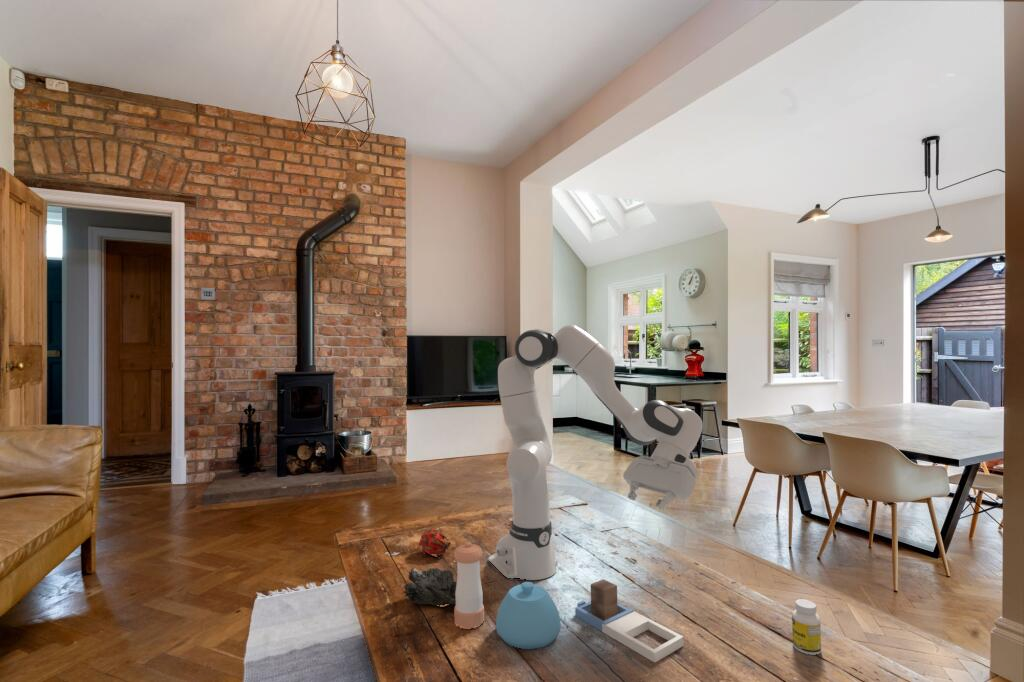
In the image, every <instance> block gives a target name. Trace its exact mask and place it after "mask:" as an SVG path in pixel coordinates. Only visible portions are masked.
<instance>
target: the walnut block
mask: <svg viewBox="0 0 1024 682" xmlns="http://www.w3.org/2000/svg"><path fill="white" fill-rule="evenodd" d="M590 601H591V612H590V613H591V614H592V615H594V616H596V617H598V618H599V619H601V620H603V621H605V620H607V619H609V618H611V617H613V616H615V615H618V612H617V603H618V585H617V584H615V583H613V582H610V581H609V580H606V579H601V580H598V581H595V582H592V583H591V584H590Z"/></svg>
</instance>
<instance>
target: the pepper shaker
mask: <svg viewBox="0 0 1024 682" xmlns="http://www.w3.org/2000/svg"><path fill="white" fill-rule="evenodd" d="M483 554H484V553H483V549H482V548H481V546H479V544H476V543H472V542H470V541H466V542H465V543H463V544H460V545H458V546H457V547H456V548H455V550H454V553H453V557H454V560H455V561H456V562H457V566H456V567H457V576H456V577H457V579H456V582H457V585H456V592H455V596H456V604H455V606H454V609H453V611H454V614H453V615H454V616H453V617H454V623H455V622H456V624H458V625H459V626H462V627H474V626H478V625H480V624H481V623H483V621H484V622H485V605H484V604H483V600H484V599H483V597H484V596H483V588H482V586H483V585H482V580H481V567H480V565H481V562H480V560H482V558H483ZM483 624H484V623H483Z"/></svg>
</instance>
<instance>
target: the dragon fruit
mask: <svg viewBox="0 0 1024 682" xmlns="http://www.w3.org/2000/svg"><path fill="white" fill-rule="evenodd" d="M448 541H449V539H448V538H447V536H446V535H444V534H442V531H441V530H439V529H438V530H437V529H436V528H430V529H427V530H425V531H424V533H422V535H421V536H420V540H419V542H418V546H419V547H421V546H422V547H421V550H422V553H427V554H428V555H430V554H440V555H441V554H446V553H447V551H448V549H449V547H450V546H451V541H449V542H448Z"/></svg>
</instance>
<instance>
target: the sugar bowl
mask: <svg viewBox="0 0 1024 682" xmlns="http://www.w3.org/2000/svg"><path fill="white" fill-rule="evenodd" d="M559 613H560V612H559V610H558V607H557V605H556V604H555V602H554V599H553V598H552V597H551V595H550V593H549V592H548V591H547V589H545V588H544V587H543V586H541V585H538V584H536V583H535V584H534V583H533V582H532V581H524V582H522V583H521V584H517V585H515V586H513V587H512V588H510V589H509V590H508V591H507V593H506V594H505V596H504V598H503V599H502V601H501V603H500V605H499V607H498V611H497V615H496V617H495V618H496V620H495V629H496V632H497V634H498V636H500V638H501V640H502V641H504V642H505V643H506V644H507V643H508V644H507V645H509V646H510V647H513V646H514V647H513V648H516V647H517V648H516V649H519V648H521V649H522V650H536V649H535V648H537V649H541V648H544V647H546V646H548V645H550V644H551V643H552V642H553V641H554V640H555V639H556V638H557V637H558V635H559V634H560V632H561V628H562V626H561V616H560V614H559ZM540 647H541V648H540ZM521 649H520V650H521Z"/></svg>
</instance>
